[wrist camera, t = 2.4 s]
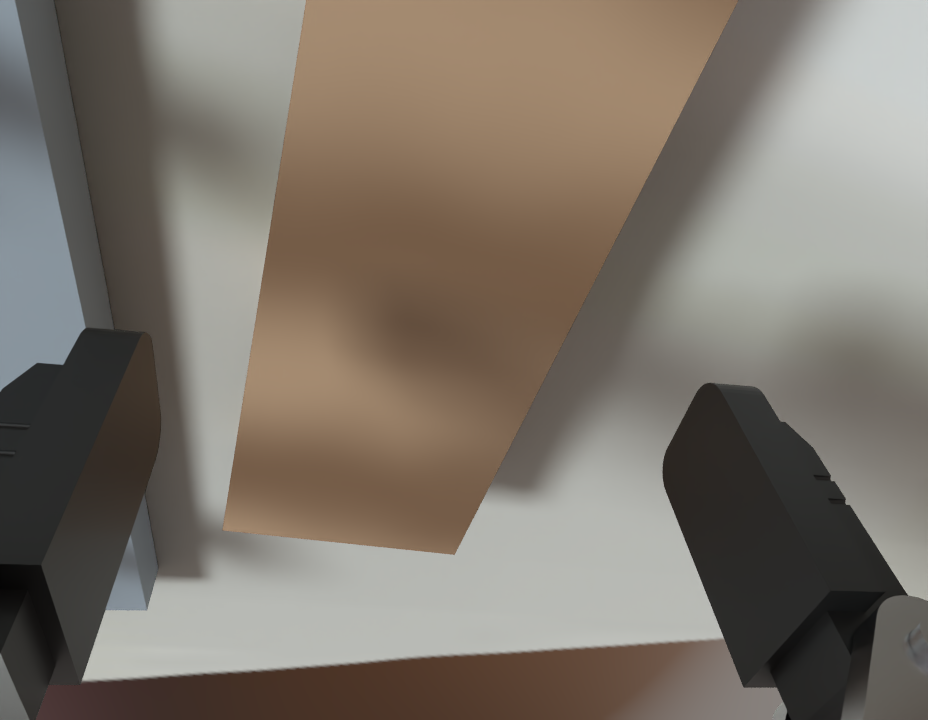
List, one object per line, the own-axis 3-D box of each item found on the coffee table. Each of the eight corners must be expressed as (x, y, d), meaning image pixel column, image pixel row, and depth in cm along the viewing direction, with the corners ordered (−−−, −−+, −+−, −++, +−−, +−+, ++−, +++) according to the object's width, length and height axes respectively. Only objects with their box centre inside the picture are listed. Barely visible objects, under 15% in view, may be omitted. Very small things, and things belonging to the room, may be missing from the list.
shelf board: (399, -522, 9) (407, -639, 6) (783, -322, 11) (918, -350, 8) (243, 427, 20) (222, 530, 17) (445, 456, 21) (454, 554, 19)
